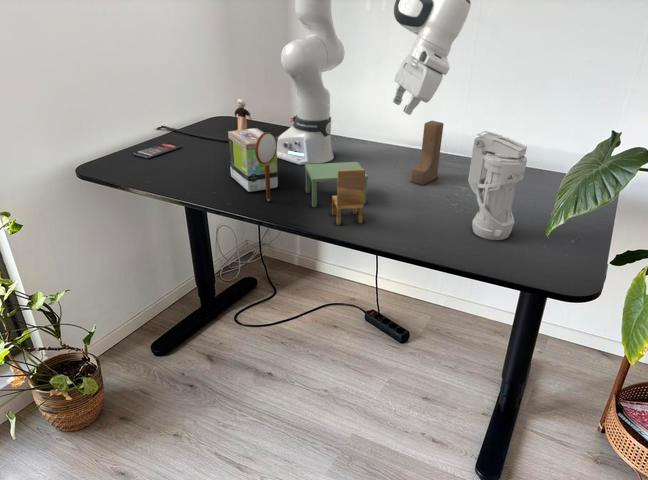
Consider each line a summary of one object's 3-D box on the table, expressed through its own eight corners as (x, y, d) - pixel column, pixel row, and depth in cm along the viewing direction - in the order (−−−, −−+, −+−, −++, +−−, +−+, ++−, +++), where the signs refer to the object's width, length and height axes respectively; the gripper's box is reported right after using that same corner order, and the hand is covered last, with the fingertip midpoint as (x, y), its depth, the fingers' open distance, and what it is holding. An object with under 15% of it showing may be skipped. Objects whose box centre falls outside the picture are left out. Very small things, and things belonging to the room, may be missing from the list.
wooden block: (422, 185, 170) (428, 128, 160) (410, 181, 172) (416, 125, 163) (437, 178, 176) (444, 122, 166) (425, 174, 178) (431, 120, 169)
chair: (331, 214, 149) (332, 161, 141) (356, 212, 151) (358, 160, 143) (337, 225, 143) (338, 171, 136) (362, 223, 145) (365, 169, 137)
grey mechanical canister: (517, 231, 144) (537, 139, 131) (500, 244, 137) (520, 148, 124) (473, 217, 151) (488, 128, 138) (455, 229, 144) (469, 136, 131)
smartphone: (180, 145, 192) (147, 156, 181) (181, 147, 192) (147, 158, 181) (166, 141, 195) (132, 152, 184) (166, 143, 196) (132, 154, 184)
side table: (305, 191, 162) (304, 164, 158) (356, 188, 166) (357, 161, 161) (312, 207, 152) (312, 179, 148) (366, 204, 156) (368, 176, 151)
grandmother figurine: (232, 132, 210) (229, 99, 204) (235, 129, 214) (233, 97, 207) (251, 134, 209) (249, 100, 203) (254, 131, 213) (252, 98, 206)
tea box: (279, 187, 164) (277, 139, 156) (248, 193, 159) (245, 144, 152) (259, 171, 175) (257, 126, 167) (230, 176, 170) (226, 130, 163)
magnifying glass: (275, 195, 159) (273, 128, 148) (280, 197, 158) (277, 129, 148) (256, 205, 152) (252, 135, 142) (261, 207, 151) (257, 136, 141)
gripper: (404, 43, 141) (380, 93, 146) (430, 58, 124) (402, 114, 129) (424, 54, 143) (399, 102, 149) (452, 70, 126) (423, 124, 132)
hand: (401, 108), depth 139 cm, fingers open, 8 cm apart
